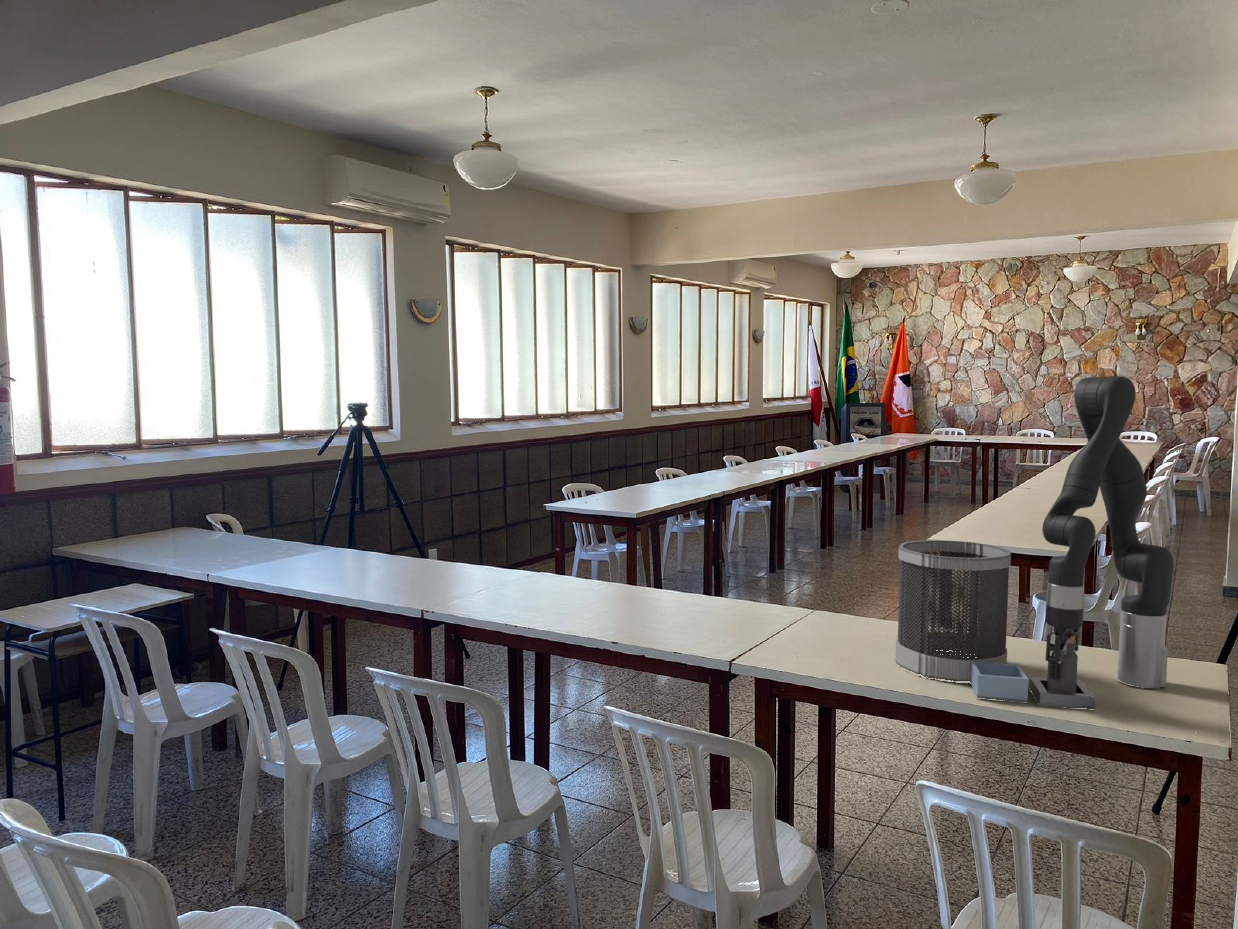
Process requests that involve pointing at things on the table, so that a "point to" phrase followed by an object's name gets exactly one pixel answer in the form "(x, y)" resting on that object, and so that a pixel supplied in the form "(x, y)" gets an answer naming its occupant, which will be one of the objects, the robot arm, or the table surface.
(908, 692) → the table surface
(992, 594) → the wastebasket
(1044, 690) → the collar
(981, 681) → the bin
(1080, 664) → the table surface
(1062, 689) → the bottle
